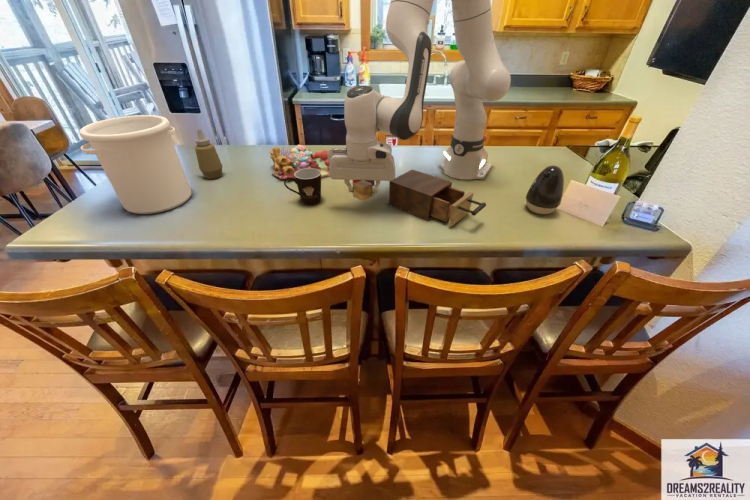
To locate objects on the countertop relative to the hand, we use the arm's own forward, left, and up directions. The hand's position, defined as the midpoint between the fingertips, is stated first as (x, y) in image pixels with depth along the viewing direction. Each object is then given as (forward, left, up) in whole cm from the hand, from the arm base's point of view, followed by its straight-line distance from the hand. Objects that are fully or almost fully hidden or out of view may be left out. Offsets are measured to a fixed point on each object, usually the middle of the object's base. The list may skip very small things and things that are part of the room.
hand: (363, 191), depth 101 cm
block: (0, 0, -2) cm, 2 cm away
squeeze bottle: (+19, -61, -6) cm, 65 cm away
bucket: (+41, -56, -6) cm, 70 cm away
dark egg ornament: (-37, +45, -6) cm, 58 cm away
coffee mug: (+8, -18, -6) cm, 21 cm away
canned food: (-11, -9, -6) cm, 16 cm away
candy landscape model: (-8, -40, -6) cm, 42 cm away
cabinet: (-14, +13, -6) cm, 20 cm away
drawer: (-14, +24, -5) cm, 28 cm away
